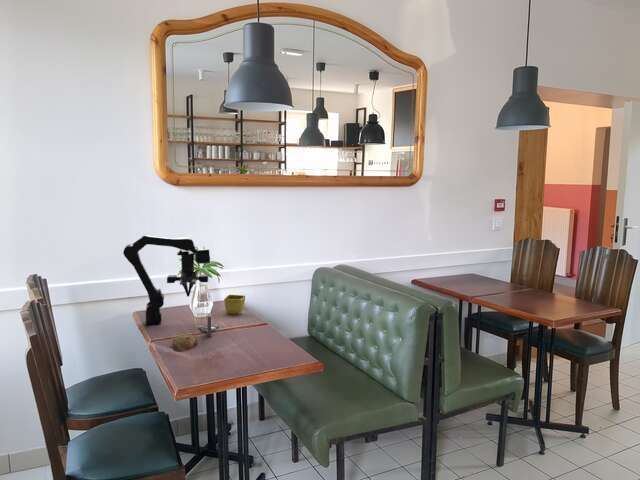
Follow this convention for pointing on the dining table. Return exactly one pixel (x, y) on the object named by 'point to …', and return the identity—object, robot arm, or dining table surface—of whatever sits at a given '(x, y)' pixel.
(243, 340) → the dining table surface
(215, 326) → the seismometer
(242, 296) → the flower pot
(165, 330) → the dining table surface
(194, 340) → the mottled green brown ball
